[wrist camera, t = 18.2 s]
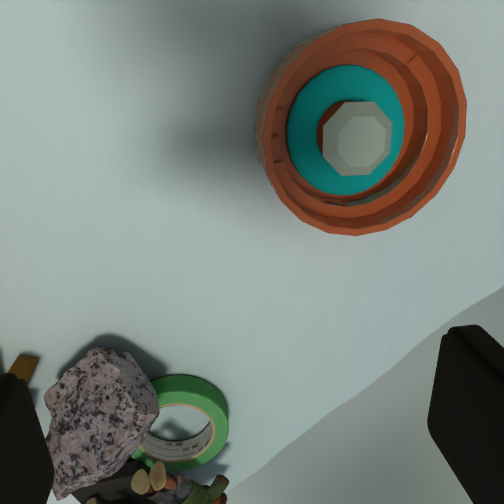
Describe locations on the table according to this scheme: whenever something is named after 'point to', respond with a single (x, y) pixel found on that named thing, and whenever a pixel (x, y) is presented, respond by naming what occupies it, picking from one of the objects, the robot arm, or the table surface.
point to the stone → (97, 418)
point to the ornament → (346, 130)
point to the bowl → (366, 55)
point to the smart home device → (115, 488)
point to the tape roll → (199, 447)
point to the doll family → (176, 488)
